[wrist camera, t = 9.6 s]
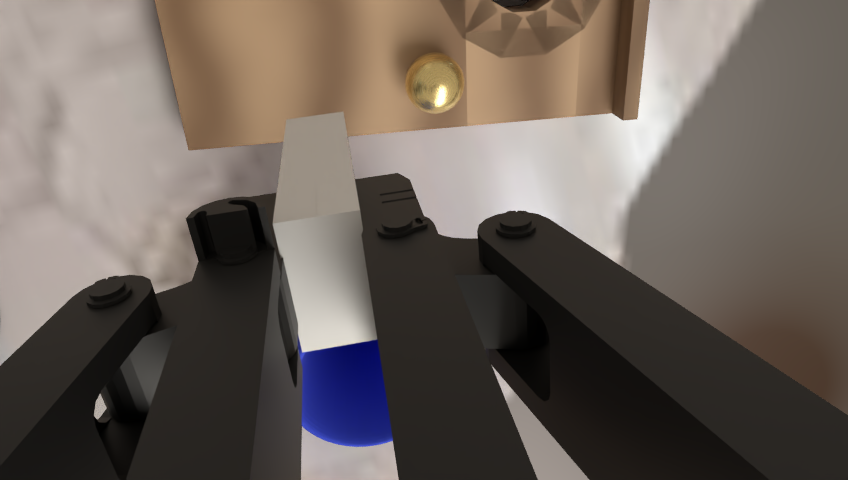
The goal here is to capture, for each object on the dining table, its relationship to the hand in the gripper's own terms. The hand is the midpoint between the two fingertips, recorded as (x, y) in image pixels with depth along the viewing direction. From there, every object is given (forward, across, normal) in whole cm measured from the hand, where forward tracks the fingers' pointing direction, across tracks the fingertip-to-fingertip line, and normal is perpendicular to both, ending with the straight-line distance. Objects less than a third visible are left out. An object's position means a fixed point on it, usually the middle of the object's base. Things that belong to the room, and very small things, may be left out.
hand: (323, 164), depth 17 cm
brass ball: (+15, +6, -2) cm, 16 cm away
